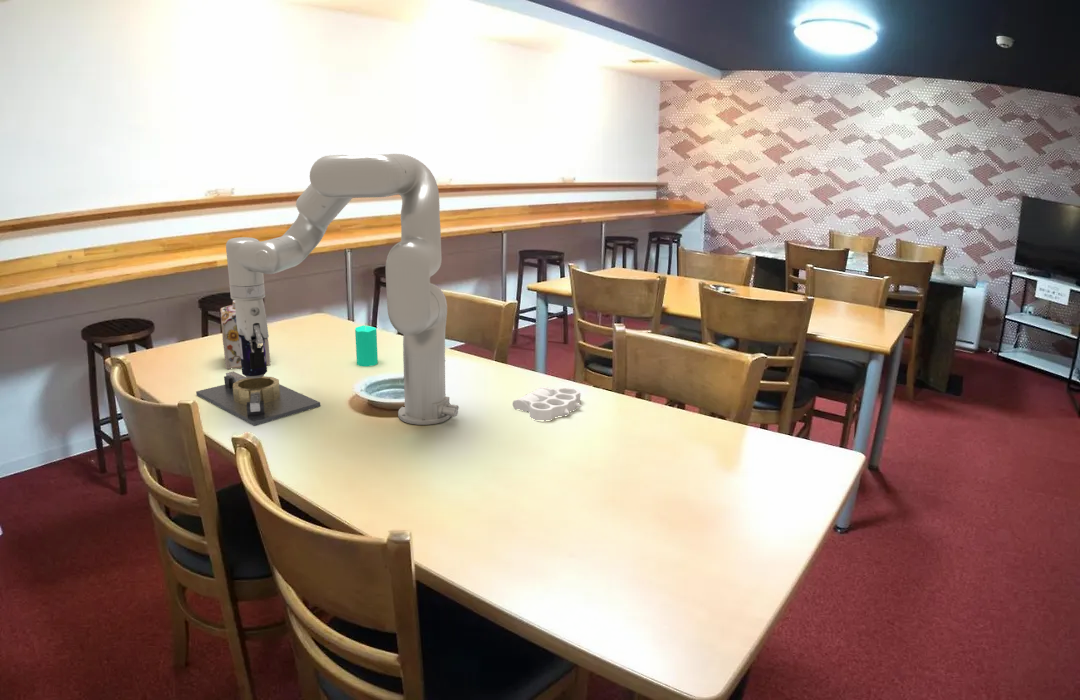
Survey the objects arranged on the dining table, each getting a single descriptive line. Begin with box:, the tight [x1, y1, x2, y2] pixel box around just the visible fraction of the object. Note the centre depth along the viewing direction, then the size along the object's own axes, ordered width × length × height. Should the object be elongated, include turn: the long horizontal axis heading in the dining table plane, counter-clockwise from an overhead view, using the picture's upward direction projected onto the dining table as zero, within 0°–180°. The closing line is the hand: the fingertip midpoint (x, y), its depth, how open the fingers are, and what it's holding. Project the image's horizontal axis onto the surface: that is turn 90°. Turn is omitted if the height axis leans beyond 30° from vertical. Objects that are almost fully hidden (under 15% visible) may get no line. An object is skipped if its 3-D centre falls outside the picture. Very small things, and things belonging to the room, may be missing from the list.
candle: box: [354, 322, 379, 368], centre depth 201 cm, size 6×6×12 cm
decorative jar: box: [219, 300, 271, 370], centre depth 198 cm, size 12×12×18 cm
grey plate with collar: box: [195, 370, 322, 427], centre depth 171 cm, size 28×17×4 cm, turn 50°
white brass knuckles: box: [512, 386, 582, 421], centre depth 173 cm, size 3×18×15 cm
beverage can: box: [238, 329, 268, 378], centre depth 168 cm, size 6×6×12 cm
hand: (254, 363), depth 169 cm, fingers closed on beverage can, 5 cm apart
